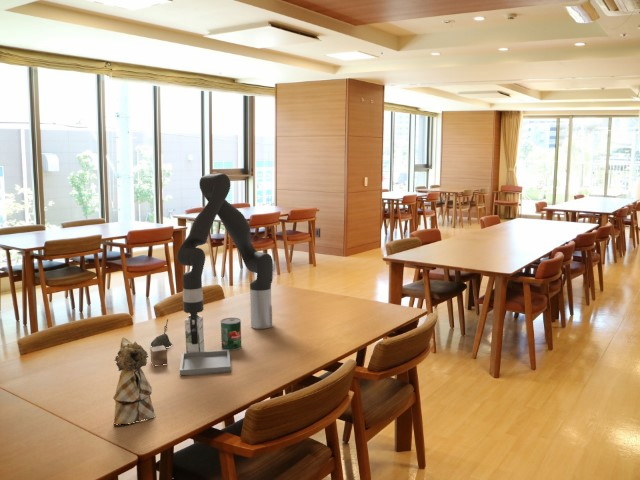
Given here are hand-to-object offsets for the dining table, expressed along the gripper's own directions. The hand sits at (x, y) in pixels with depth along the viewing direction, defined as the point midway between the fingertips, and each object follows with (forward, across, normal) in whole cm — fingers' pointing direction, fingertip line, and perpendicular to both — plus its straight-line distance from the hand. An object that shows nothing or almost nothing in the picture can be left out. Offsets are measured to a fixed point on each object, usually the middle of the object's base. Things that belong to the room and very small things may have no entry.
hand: (194, 340), depth 229 cm
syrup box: (+5, 0, 0) cm, 5 cm away
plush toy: (+5, -51, +16) cm, 54 cm away
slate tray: (+5, -13, -4) cm, 15 cm away
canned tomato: (+6, +5, -14) cm, 16 cm away
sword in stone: (+6, +12, +14) cm, 19 cm away
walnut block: (+5, -8, +13) cm, 16 cm away
